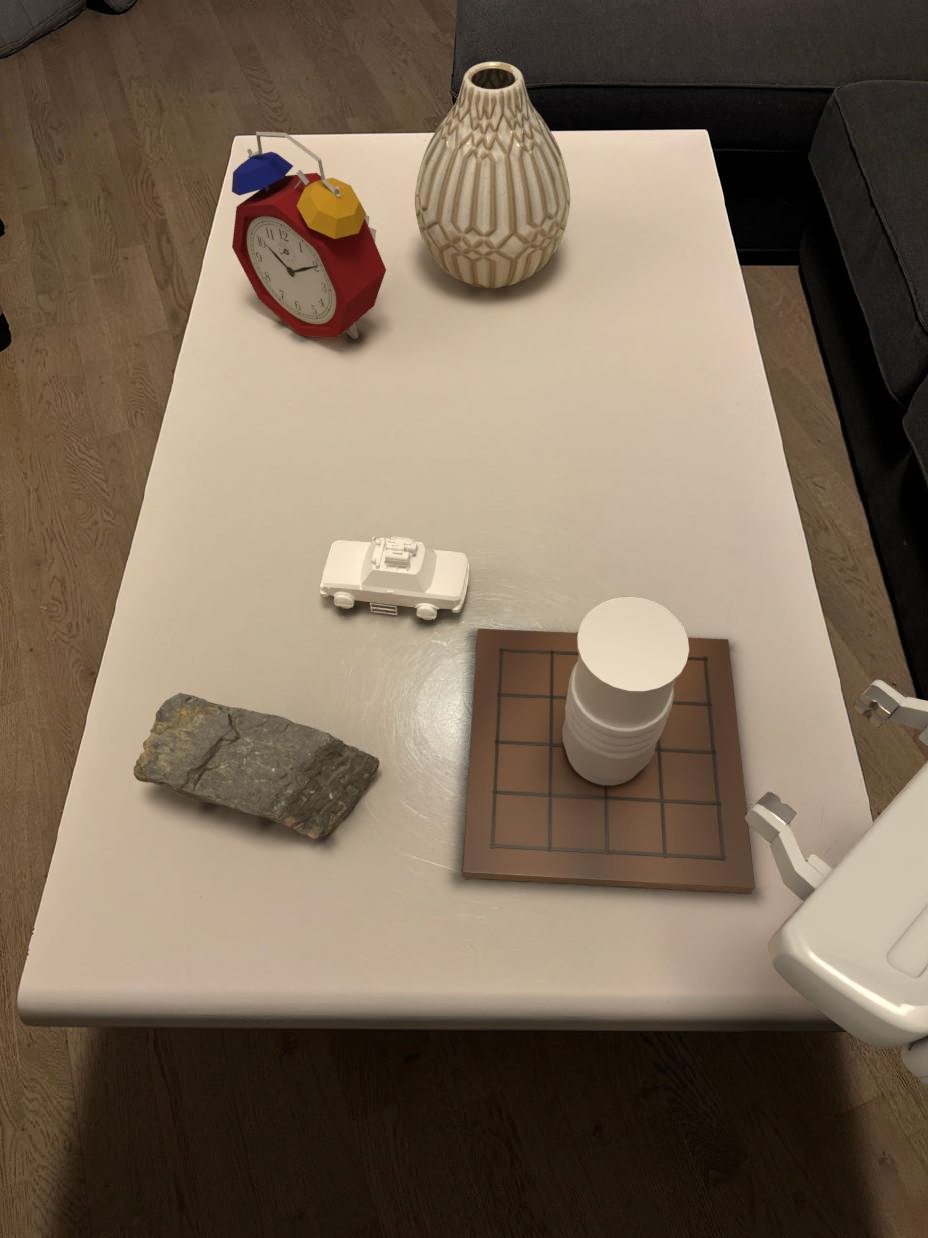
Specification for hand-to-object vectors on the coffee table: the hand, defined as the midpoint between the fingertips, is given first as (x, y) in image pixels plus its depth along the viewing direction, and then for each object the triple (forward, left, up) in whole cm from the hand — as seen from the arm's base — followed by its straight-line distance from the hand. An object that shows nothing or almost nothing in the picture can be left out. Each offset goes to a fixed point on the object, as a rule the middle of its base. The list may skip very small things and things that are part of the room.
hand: (811, 746), depth 50 cm
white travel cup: (+9, -8, -18) cm, 22 cm away
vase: (+20, -66, -20) cm, 72 cm away
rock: (+34, -4, -20) cm, 39 cm away
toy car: (+26, -22, -20) cm, 39 cm away
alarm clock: (+37, -57, -20) cm, 71 cm away
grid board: (+9, -8, -19) cm, 23 cm away
